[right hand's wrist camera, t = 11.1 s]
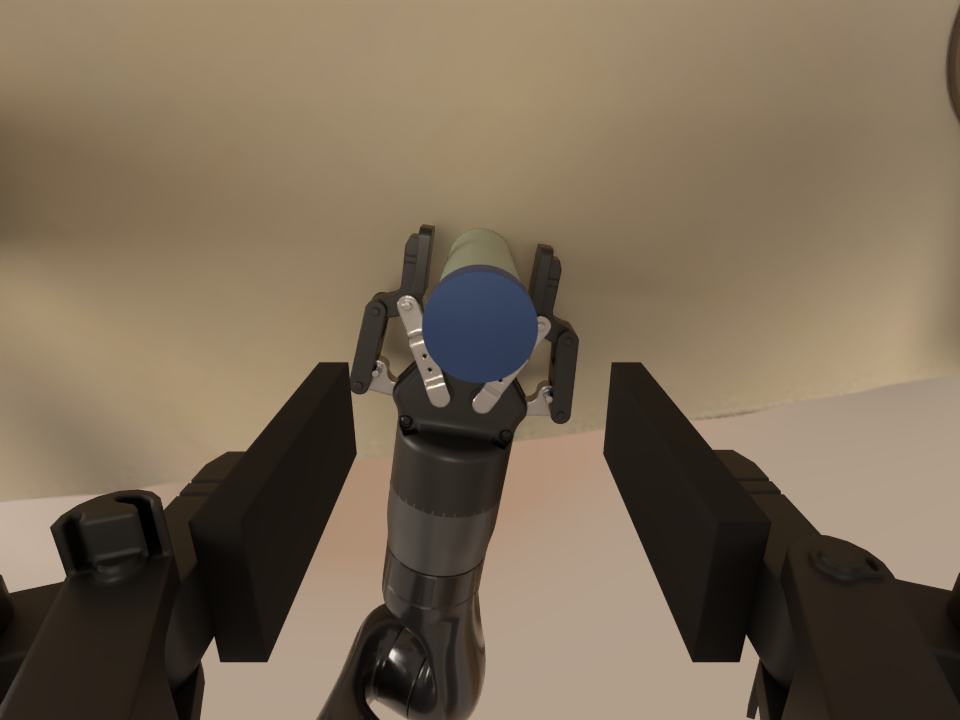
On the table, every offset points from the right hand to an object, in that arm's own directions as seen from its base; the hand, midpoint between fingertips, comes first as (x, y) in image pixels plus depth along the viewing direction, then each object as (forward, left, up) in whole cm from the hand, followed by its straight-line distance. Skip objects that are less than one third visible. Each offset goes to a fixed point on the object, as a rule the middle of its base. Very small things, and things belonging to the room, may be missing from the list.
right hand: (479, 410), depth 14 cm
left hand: (+1, -2, -18) cm, 18 cm away
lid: (0, 0, -8) cm, 8 cm away
